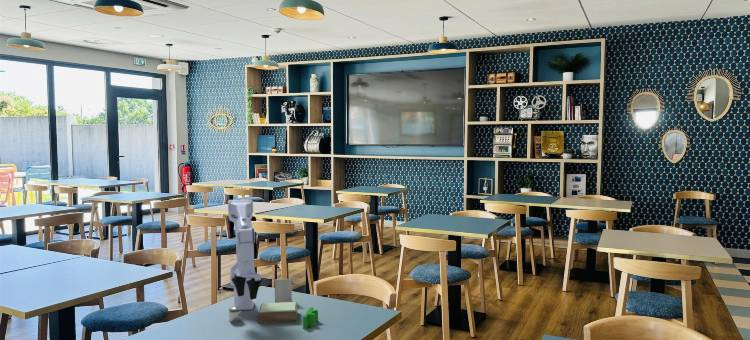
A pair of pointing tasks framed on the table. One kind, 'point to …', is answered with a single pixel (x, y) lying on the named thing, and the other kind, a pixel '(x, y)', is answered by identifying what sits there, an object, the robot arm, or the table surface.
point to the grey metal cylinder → (235, 314)
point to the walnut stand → (277, 312)
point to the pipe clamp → (310, 318)
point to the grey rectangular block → (283, 290)
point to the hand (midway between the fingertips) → (247, 297)
